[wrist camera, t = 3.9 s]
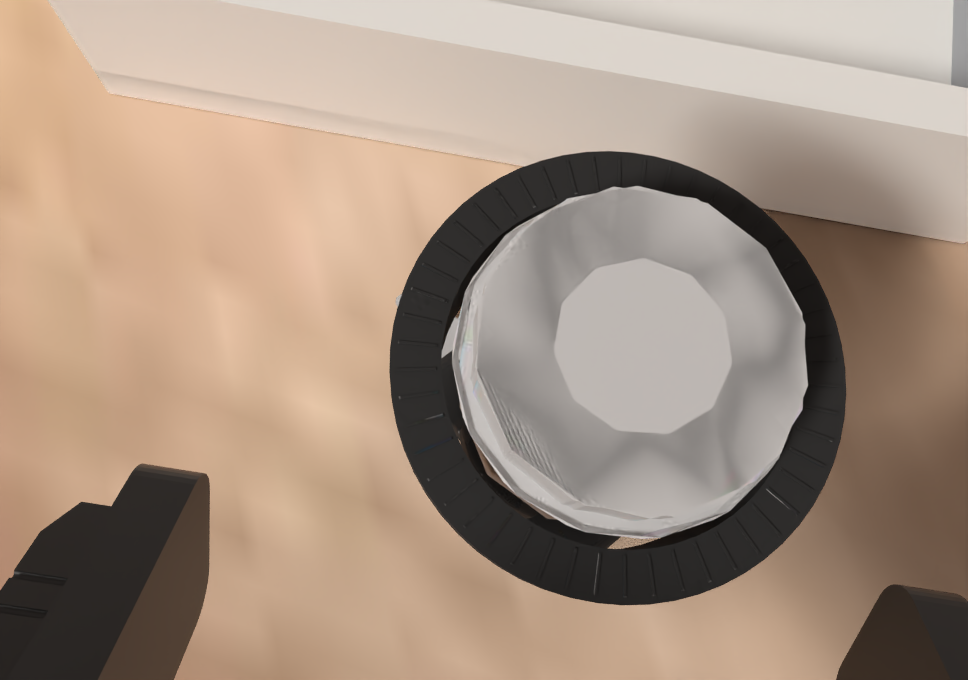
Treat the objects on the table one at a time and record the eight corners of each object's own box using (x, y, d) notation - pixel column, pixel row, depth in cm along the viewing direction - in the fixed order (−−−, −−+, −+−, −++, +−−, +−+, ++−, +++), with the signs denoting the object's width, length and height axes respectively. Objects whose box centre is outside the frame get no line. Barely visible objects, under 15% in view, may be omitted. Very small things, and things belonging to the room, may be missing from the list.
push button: (312, 378, 19) (208, 198, 9) (506, 237, 20) (593, -56, 10) (506, 635, 18) (614, 729, 8) (698, 472, 19) (990, 391, 10)
